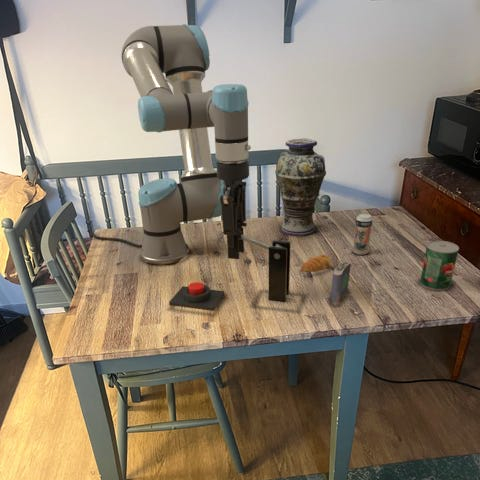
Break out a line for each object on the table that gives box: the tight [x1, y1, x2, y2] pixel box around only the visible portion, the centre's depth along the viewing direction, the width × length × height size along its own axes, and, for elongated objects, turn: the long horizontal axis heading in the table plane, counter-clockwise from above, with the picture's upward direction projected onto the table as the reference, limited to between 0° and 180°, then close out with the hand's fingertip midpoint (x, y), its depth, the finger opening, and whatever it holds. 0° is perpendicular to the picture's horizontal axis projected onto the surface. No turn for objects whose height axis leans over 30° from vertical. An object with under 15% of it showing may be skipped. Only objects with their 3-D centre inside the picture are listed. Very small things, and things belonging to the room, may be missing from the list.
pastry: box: [300, 254, 333, 273], centre depth 136 cm, size 9×7×4 cm
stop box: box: [168, 284, 226, 312], centre depth 121 cm, size 12×9×4 cm
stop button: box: [187, 281, 205, 295], centre depth 119 cm, size 4×4×2 cm
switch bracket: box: [268, 240, 292, 303], centre depth 118 cm, size 12×9×16 cm
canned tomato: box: [419, 240, 460, 291], centre depth 124 cm, size 8×8×11 cm
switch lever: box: [237, 227, 286, 251], centre depth 115 cm, size 15×4×4 cm, turn 73°
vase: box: [274, 138, 327, 237], centre depth 157 cm, size 17×17×30 cm
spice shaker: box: [352, 213, 373, 256], centre depth 143 cm, size 5×5×12 cm
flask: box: [330, 259, 352, 303], centre depth 119 cm, size 9×3×11 cm, turn 151°
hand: (236, 254), depth 118 cm, fingers closed on switch lever, 4 cm apart
